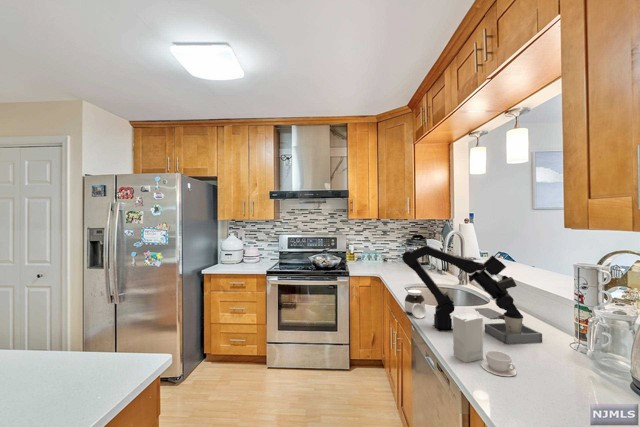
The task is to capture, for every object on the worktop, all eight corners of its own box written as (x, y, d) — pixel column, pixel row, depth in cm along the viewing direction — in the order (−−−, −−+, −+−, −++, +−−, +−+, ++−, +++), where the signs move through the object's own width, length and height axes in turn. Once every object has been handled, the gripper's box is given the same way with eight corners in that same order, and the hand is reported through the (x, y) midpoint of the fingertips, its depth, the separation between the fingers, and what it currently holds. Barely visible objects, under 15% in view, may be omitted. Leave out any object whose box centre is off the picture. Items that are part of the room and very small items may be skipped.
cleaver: (530, 329, 132) (530, 324, 132) (509, 330, 131) (509, 325, 131) (487, 309, 161) (487, 305, 162) (470, 310, 161) (470, 306, 161)
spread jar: (414, 310, 159) (414, 288, 159) (433, 315, 150) (433, 292, 150) (399, 314, 152) (399, 291, 152) (418, 320, 143) (418, 296, 143)
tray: (505, 344, 116) (505, 335, 116) (484, 331, 129) (484, 323, 129) (542, 342, 118) (542, 333, 118) (517, 330, 130) (517, 322, 130)
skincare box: (470, 352, 109) (469, 311, 110) (484, 359, 104) (483, 317, 104) (452, 355, 107) (452, 314, 107) (465, 363, 101) (465, 320, 101)
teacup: (475, 366, 99) (474, 352, 99) (492, 359, 104) (492, 346, 104) (505, 381, 91) (505, 365, 91) (523, 372, 95) (523, 358, 95)
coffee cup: (528, 339, 119) (527, 314, 119) (511, 340, 118) (511, 315, 119) (515, 332, 126) (515, 309, 126) (499, 333, 125) (499, 309, 126)
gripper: (506, 274, 115) (540, 306, 111) (499, 266, 132) (529, 294, 128) (483, 292, 119) (516, 324, 114) (479, 283, 136) (508, 310, 131)
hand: (518, 312), depth 122 cm, fingers open, 9 cm apart
